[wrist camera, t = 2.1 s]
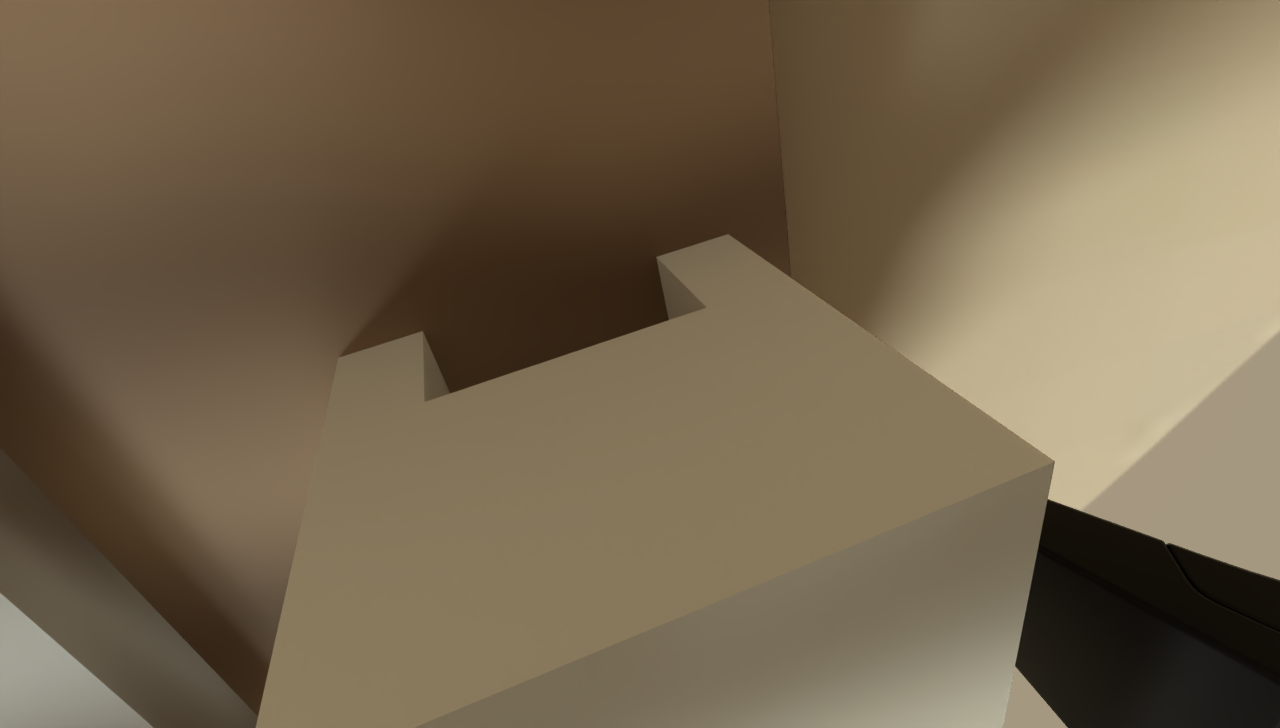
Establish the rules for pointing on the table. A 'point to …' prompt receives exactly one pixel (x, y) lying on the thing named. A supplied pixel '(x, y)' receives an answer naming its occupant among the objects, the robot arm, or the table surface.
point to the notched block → (662, 532)
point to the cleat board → (307, 278)
